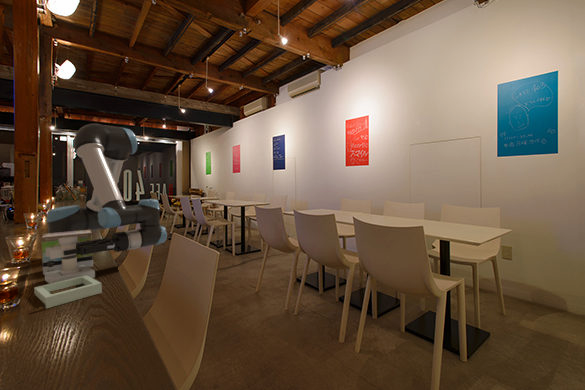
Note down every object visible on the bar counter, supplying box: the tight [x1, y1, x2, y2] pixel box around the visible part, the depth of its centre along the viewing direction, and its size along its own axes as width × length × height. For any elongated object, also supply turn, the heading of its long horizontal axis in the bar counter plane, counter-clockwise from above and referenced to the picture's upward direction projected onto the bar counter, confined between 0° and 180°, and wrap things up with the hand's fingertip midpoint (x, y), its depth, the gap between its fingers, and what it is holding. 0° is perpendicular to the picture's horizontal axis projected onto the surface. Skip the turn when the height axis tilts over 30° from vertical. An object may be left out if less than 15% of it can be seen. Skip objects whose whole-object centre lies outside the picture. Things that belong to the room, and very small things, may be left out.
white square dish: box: [44, 265, 96, 284], centre depth 95 cm, size 11×11×4 cm
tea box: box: [41, 230, 94, 276], centre depth 108 cm, size 15×10×15 cm, turn 129°
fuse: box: [59, 236, 79, 276], centre depth 94 cm, size 5×5×13 cm
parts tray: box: [33, 275, 103, 310], centre depth 83 cm, size 13×13×3 cm
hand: (48, 253), depth 90 cm, fingers closed on fuse, 4 cm apart
